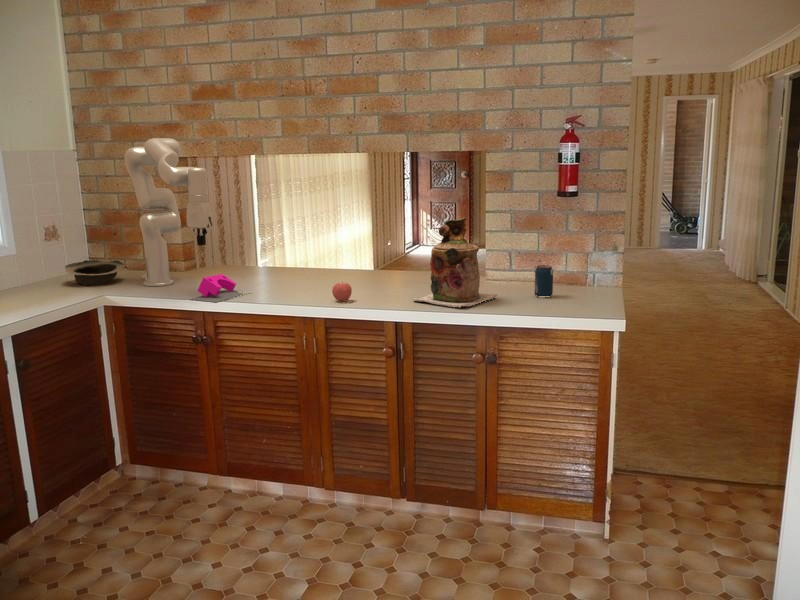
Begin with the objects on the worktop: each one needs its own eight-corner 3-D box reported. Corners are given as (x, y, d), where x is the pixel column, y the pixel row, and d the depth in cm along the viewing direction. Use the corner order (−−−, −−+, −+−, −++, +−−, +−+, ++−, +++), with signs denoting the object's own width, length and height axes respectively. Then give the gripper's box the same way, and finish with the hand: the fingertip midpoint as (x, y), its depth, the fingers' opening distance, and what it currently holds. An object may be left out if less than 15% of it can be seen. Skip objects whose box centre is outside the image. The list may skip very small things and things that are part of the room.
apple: (354, 299, 273) (353, 279, 271) (348, 303, 266) (348, 282, 264) (336, 299, 274) (335, 279, 273) (330, 302, 267) (329, 282, 266)
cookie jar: (447, 292, 286) (447, 213, 279) (499, 299, 270) (501, 216, 264) (410, 302, 267) (409, 218, 260) (463, 310, 252) (464, 221, 245)
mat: (188, 299, 276) (188, 299, 276) (226, 290, 296) (226, 289, 295) (216, 302, 270) (216, 301, 270) (252, 292, 289) (252, 291, 289)
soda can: (555, 296, 274) (556, 266, 271) (546, 299, 269) (546, 268, 266) (540, 294, 278) (541, 264, 276) (530, 296, 274) (531, 266, 271)
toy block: (196, 290, 279) (211, 300, 278) (203, 277, 277) (218, 287, 276) (215, 286, 293) (230, 296, 292) (222, 274, 292) (236, 283, 291)
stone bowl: (98, 275, 334) (97, 256, 332) (137, 283, 324) (136, 263, 322) (53, 283, 312) (52, 263, 310) (93, 292, 302) (92, 271, 300)
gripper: (177, 199, 279) (181, 245, 283) (206, 200, 272) (209, 247, 276) (191, 198, 285) (194, 242, 289) (219, 199, 279) (222, 245, 283)
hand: (201, 244), depth 283 cm, fingers closed
